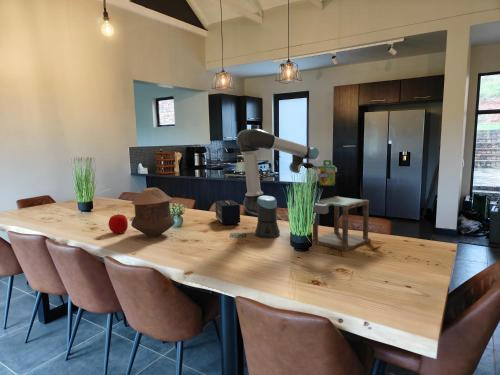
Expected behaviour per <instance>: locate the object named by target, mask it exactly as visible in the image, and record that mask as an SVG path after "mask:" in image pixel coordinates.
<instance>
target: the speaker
mask: <svg viewBox="0 0 500 375" xmlns="http://www.w3.org/2000/svg"><path fill="white" fill-rule="evenodd" d="M215 218H216V219H217V220H218V221H219V223H220V224H222V225H223V226H227V225H231V224H235V225H238V224H240V223H241V205H240V204H239V203H238V202H236V201H234V200H233V199H226V200H216V201H215Z"/></svg>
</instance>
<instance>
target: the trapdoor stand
mask: <svg viewBox="0 0 500 375" xmlns="http://www.w3.org/2000/svg"><path fill="white" fill-rule="evenodd" d="M336 197H340V196H338V195H336V196H332V197H327V198H322V199H317V200H319V201H322V200H327V199H331V198H336ZM317 200H314V201H315V203H317ZM361 200H362V201H358V202H354V203H350V204H346V205H343V207H342V231H340V206H335V205H333V207H334V212H333V213H334V214H333V217H334V218H333V221H334V222H333V231H332V232H329V233H326V234H323V235H321V236H319V213H316V218H315V222H314V224H313V223H312V238H311V239H312V242H315V243H319V244H322V245H321V246H323V245H326V246H325V247H327V246H330V247H329V248H331V247H334V248H333V249H335V248H337V249H336V250H339V249H341V250H340V251H343V250H345V251H344V252H348V251H350V250H352V248H353V249H355V248H357V247H359V245H360V246H362V245H364V244H363V243H365V244H367V243H369V242H371V238H370V237H369V218H370V217H369V213H370V212H369V211H370V208H369V207H370V200H369V199H361ZM319 204H321V203H319ZM361 206H363V215H362V216H363V220H362V236H360V235H355V234H350V233H349V210H350V209H354V208H359V207H361ZM368 241H369V242H368ZM366 242H367V243H366ZM315 243H314V244H315ZM319 244H318V245H319ZM361 244H362V245H361ZM356 246H357V247H356ZM354 247H355V248H354ZM349 249H350V250H349ZM347 250H348V251H347Z"/></svg>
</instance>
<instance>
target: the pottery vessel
mask: <svg viewBox="0 0 500 375" xmlns="http://www.w3.org/2000/svg"><path fill="white" fill-rule="evenodd" d="M172 200H173V197H171V196H169V195H168V194H166V192H164V191H163V190H161V189H160V188H158V187H148V188H143V189H142V191H141V192H140V194H138V196H136V197H135V198H134V200H133V201H131V204H132V205H134V217H133V218H132V221H131V224H130V226H131V227H132V228H133V229H135V230H137V231H139V232H140V233H142V234H143V235H145V236H146V237H147V238H157V237H160V236H161V235H163V233H165V232H166V231H167V232H168V230H169V229H171V228H172V227H173V226H174V225H175V223H176V221H175V219H174V216H173V215H172V214H171V213H172V212H171V208H170V207H171V205H170V201H172Z"/></svg>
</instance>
